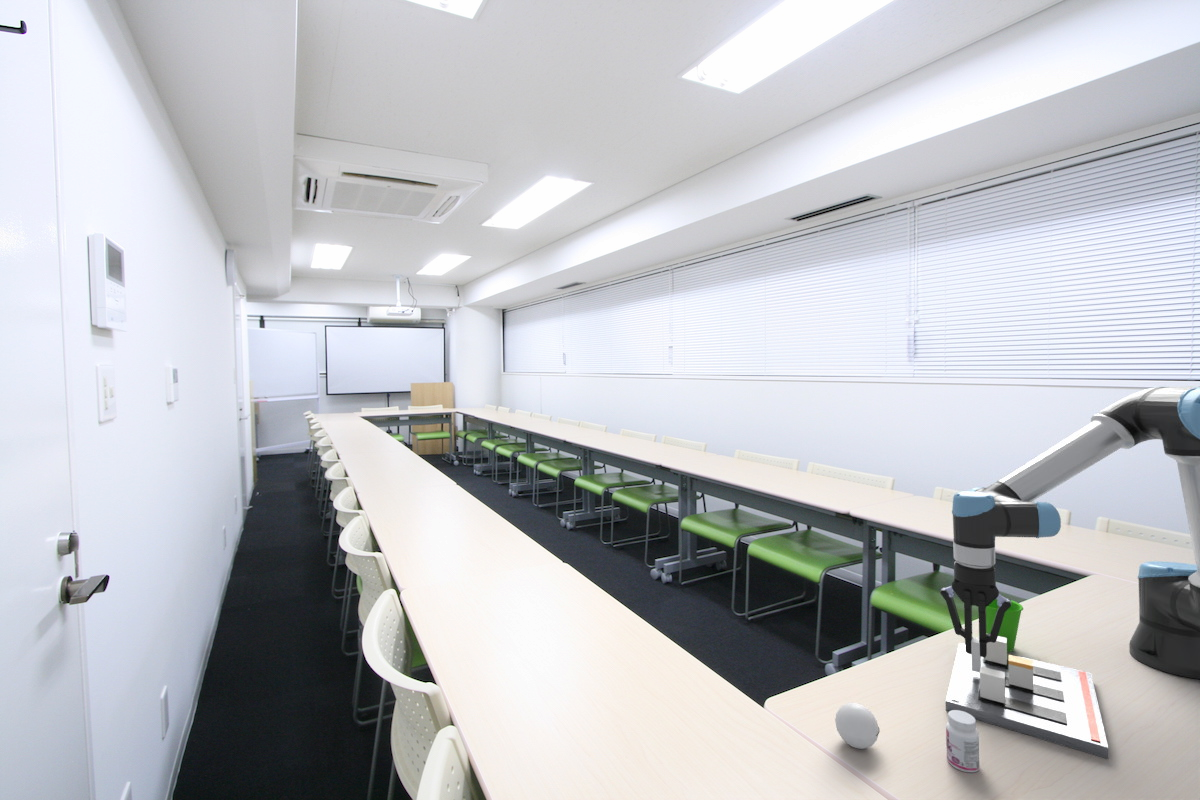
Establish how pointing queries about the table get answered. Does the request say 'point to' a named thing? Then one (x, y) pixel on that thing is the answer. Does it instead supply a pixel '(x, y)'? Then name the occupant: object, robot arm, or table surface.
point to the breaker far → (997, 651)
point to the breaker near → (992, 684)
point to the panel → (1034, 703)
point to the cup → (1005, 622)
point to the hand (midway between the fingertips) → (976, 668)
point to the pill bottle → (962, 741)
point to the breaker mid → (1021, 672)
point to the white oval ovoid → (857, 725)
